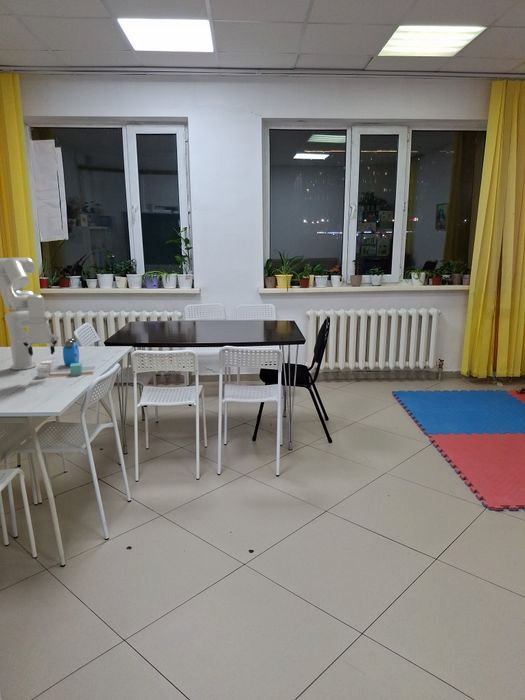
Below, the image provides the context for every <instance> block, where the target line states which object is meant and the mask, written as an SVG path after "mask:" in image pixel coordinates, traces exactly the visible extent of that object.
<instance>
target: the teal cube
mask: <svg viewBox="0 0 525 700" xmlns="http://www.w3.org/2000/svg"><path fill="white" fill-rule="evenodd" d="M82 365H83V364H82V362H79V363H73V364H71V365H70V366H69V368H70V371H69V373H71V376H70V377H73V376H72V375H81V374H82V372H83V370H82V367H83V366H82ZM81 376H82V375H81Z"/></svg>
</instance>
